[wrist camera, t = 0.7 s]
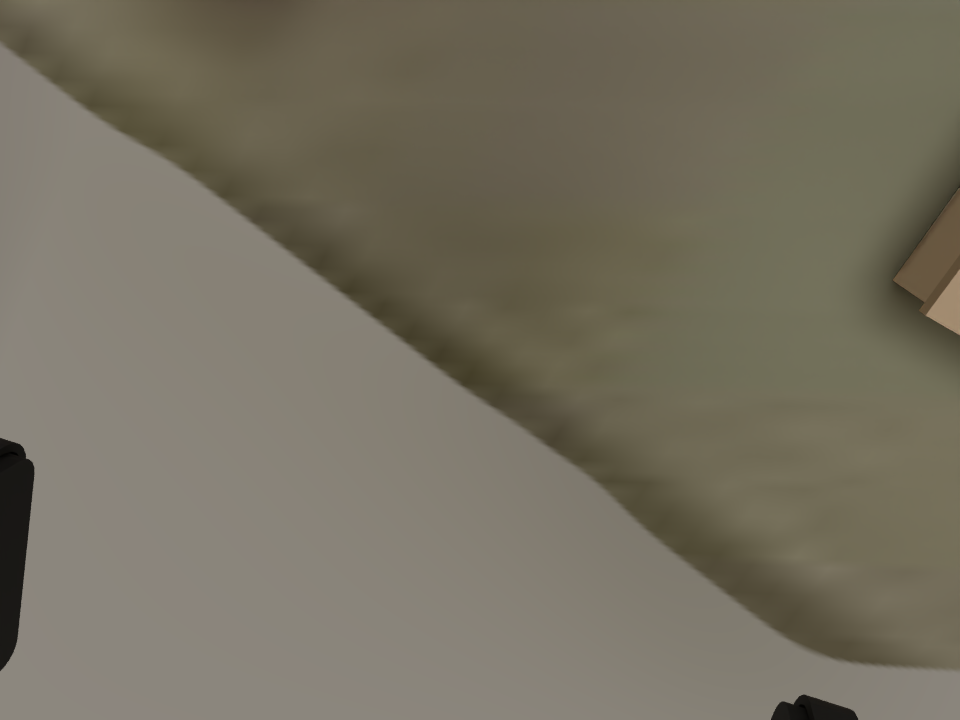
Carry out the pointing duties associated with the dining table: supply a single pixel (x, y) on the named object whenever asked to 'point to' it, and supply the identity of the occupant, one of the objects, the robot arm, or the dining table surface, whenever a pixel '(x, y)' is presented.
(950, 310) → the lid
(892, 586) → the dining table surface
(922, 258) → the lidded box
